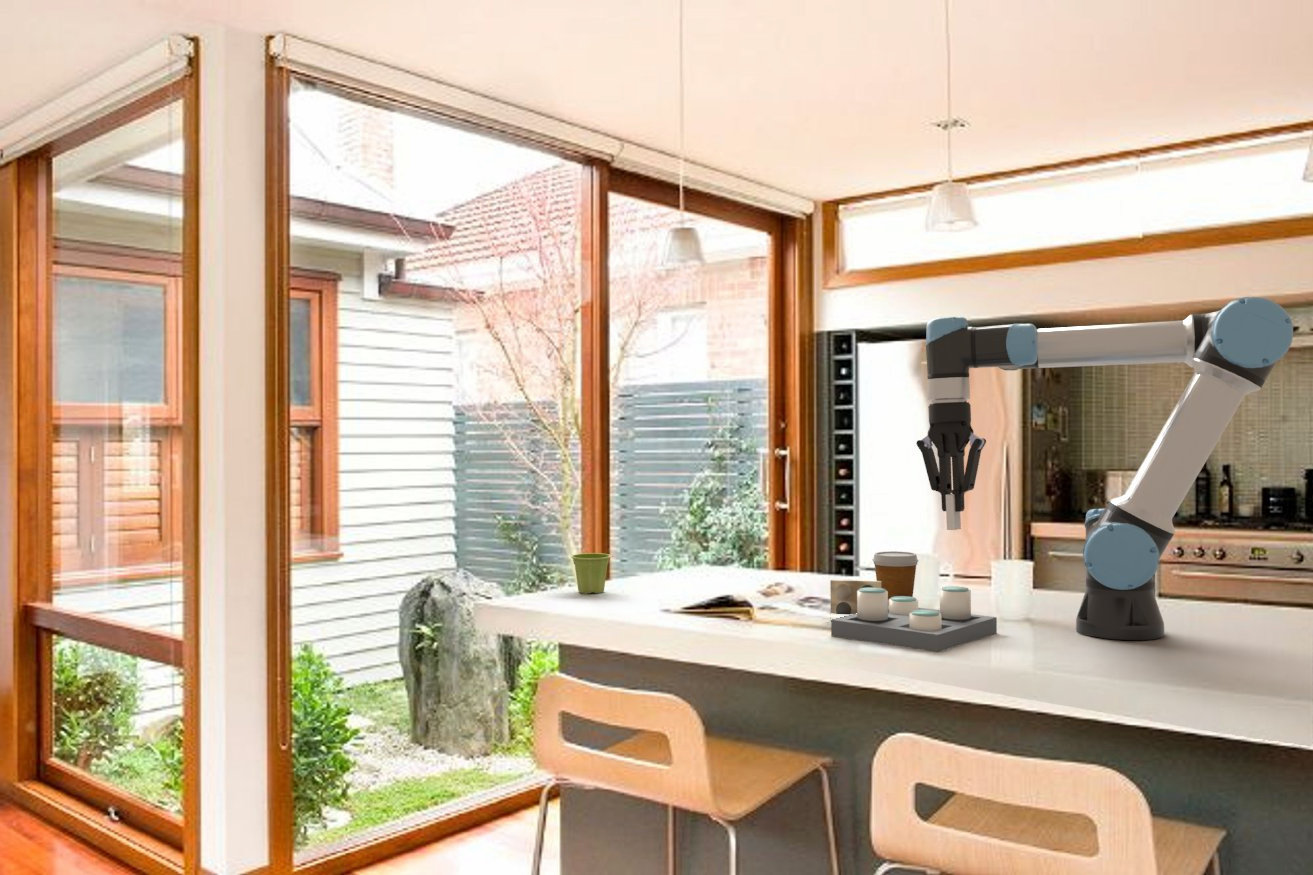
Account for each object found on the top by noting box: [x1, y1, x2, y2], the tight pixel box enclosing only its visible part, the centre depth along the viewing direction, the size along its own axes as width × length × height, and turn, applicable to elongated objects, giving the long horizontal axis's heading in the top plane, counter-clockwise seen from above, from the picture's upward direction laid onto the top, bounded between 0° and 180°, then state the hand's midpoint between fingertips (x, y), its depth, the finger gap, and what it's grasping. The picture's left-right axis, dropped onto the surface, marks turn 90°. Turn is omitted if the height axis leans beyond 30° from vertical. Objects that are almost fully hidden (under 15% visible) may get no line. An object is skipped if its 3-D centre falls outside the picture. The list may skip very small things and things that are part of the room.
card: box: [829, 579, 881, 614], centre depth 217 cm, size 10×1×8 cm, turn 76°
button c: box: [909, 610, 942, 632], centre depth 194 cm, size 6×6×5 cm
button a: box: [939, 585, 972, 620], centre depth 202 cm, size 6×6×5 cm
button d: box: [857, 587, 888, 621], centre depth 202 cm, size 6×6×5 cm
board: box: [830, 606, 998, 653], centre depth 202 cm, size 22×22×3 cm
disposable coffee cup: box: [871, 550, 919, 606], centre depth 228 cm, size 10×10×12 cm
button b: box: [889, 596, 919, 616], centre depth 210 cm, size 6×6×5 cm
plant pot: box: [571, 552, 612, 594], centre depth 257 cm, size 9×9×9 cm
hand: (953, 529), depth 200 cm, fingers closed
